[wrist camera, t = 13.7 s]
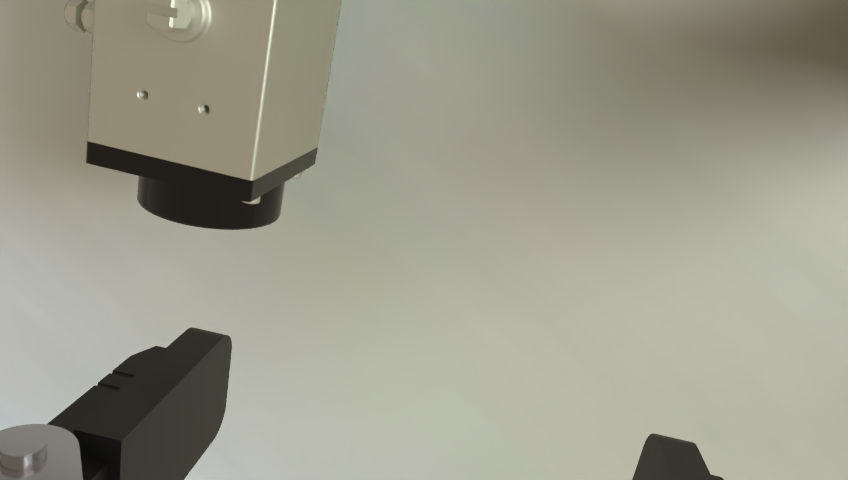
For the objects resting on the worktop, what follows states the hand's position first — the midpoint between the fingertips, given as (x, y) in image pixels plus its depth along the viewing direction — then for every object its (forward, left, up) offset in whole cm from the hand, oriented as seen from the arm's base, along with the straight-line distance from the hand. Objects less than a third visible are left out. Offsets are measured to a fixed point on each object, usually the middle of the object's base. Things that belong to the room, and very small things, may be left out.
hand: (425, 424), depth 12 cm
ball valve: (+13, -6, -30) cm, 34 cm away
